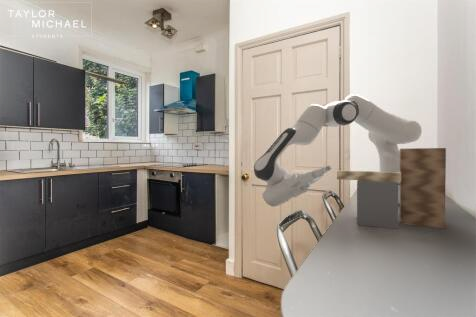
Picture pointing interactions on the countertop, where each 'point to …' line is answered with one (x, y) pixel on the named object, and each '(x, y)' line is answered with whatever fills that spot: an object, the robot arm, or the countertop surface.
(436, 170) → the pedestal
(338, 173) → the bar
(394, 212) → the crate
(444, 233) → the countertop surface
